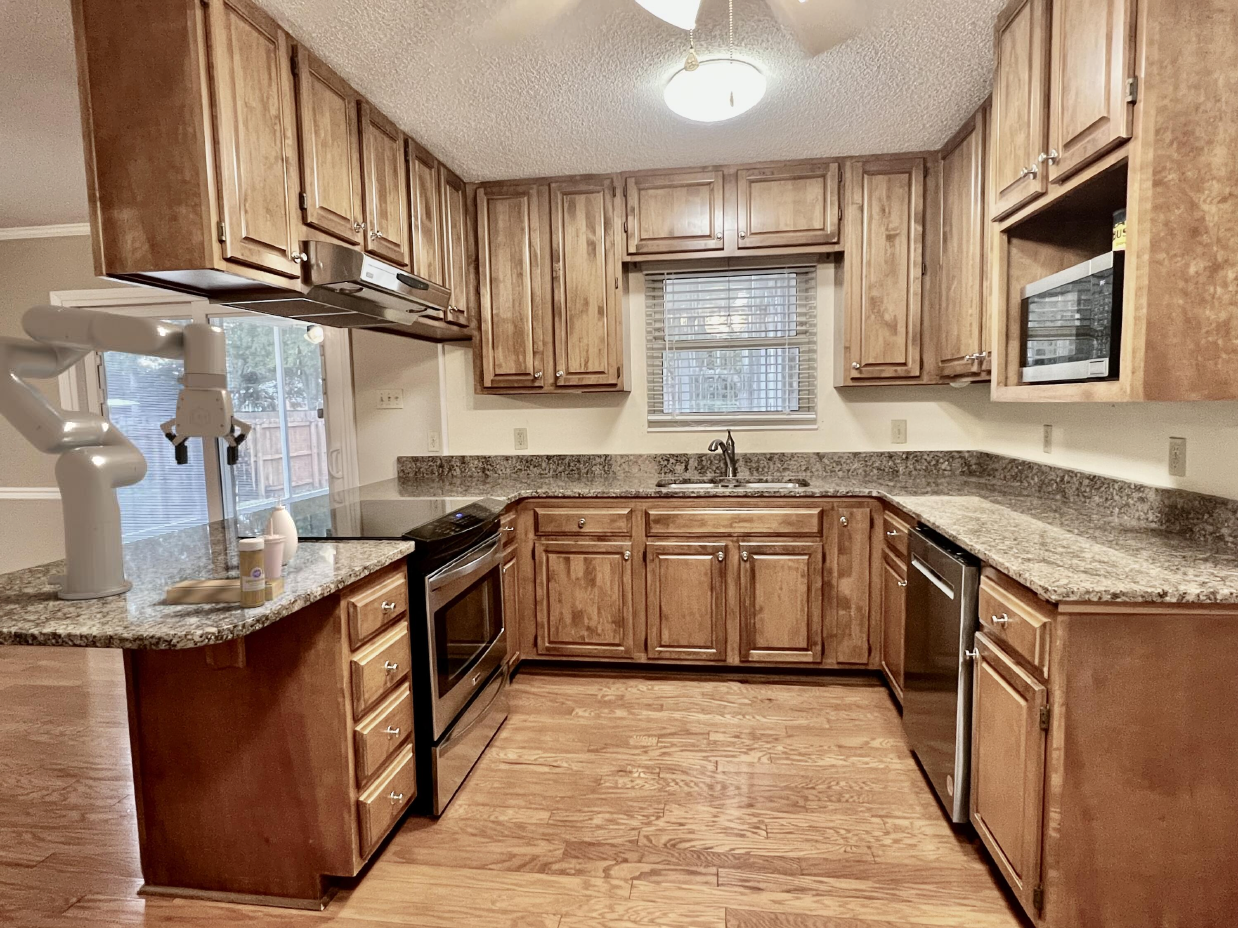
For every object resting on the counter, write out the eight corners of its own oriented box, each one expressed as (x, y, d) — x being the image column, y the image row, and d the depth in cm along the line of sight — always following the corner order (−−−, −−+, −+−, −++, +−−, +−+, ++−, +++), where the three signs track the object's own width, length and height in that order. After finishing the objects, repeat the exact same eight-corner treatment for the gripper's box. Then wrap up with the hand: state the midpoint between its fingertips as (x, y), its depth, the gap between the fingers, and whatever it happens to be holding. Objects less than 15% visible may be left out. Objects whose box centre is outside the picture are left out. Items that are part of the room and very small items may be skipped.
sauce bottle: (262, 569, 163) (260, 498, 162) (265, 563, 170) (263, 494, 169) (297, 566, 166) (295, 496, 165) (298, 560, 173) (297, 493, 172)
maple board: (166, 604, 132) (166, 589, 131) (183, 594, 139) (183, 580, 138) (272, 600, 135) (272, 585, 135) (284, 591, 142) (283, 577, 142)
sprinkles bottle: (251, 609, 129) (249, 542, 128) (234, 606, 130) (232, 540, 129) (271, 603, 133) (269, 538, 132) (254, 600, 134) (253, 536, 134)
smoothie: (290, 572, 159) (288, 516, 158) (281, 579, 153) (279, 520, 152) (262, 573, 158) (260, 516, 157) (252, 580, 152) (250, 521, 151)
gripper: (150, 381, 131) (152, 465, 132) (242, 383, 134) (244, 466, 135) (169, 383, 139) (171, 463, 140) (256, 385, 142) (258, 463, 143)
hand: (207, 464), depth 138 cm, fingers open, 9 cm apart
